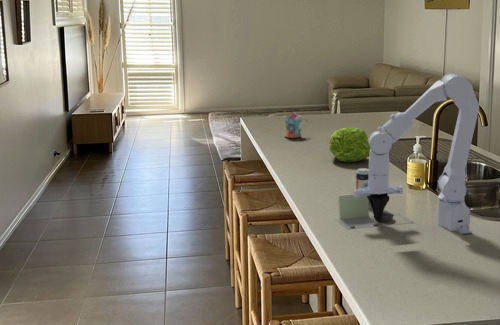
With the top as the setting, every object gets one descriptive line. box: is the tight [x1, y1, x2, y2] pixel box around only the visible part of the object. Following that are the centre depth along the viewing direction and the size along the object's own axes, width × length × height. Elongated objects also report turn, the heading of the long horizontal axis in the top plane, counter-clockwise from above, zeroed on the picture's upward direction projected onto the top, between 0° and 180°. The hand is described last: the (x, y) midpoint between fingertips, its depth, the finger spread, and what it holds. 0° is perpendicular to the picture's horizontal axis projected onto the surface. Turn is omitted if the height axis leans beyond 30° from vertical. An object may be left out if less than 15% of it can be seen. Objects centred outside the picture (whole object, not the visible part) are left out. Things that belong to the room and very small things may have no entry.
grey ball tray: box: [336, 213, 414, 230], centre depth 190 cm, size 9×20×2 cm, turn 103°
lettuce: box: [328, 127, 371, 163], centre depth 275 cm, size 17×24×14 cm
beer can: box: [355, 167, 370, 204], centre depth 209 cm, size 5×5×12 cm
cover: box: [338, 193, 370, 219], centre depth 194 cm, size 7×9×1 cm
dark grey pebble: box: [379, 209, 395, 223], centre depth 191 cm, size 5×5×2 cm
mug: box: [283, 114, 308, 139], centre depth 323 cm, size 12×9×11 cm
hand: (377, 218), depth 189 cm, fingers closed
